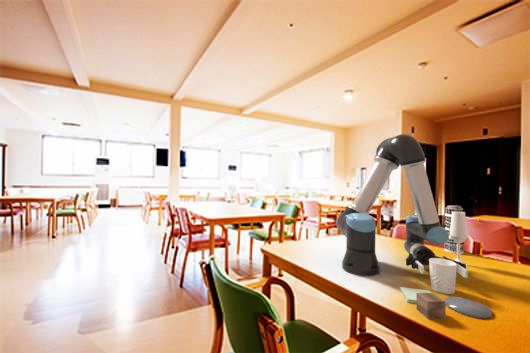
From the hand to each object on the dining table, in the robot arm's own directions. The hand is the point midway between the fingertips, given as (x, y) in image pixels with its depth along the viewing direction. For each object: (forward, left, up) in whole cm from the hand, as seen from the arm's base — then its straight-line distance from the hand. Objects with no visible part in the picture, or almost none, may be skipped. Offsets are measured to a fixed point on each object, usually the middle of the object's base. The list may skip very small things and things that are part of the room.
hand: (444, 272), depth 86 cm
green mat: (-11, -10, -6) cm, 16 cm away
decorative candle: (+25, +55, -6) cm, 60 cm away
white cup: (-1, -1, -6) cm, 6 cm away
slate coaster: (+1, -13, -6) cm, 15 cm away
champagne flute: (+18, +33, -6) cm, 38 cm away
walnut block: (-11, -20, -6) cm, 24 cm away
